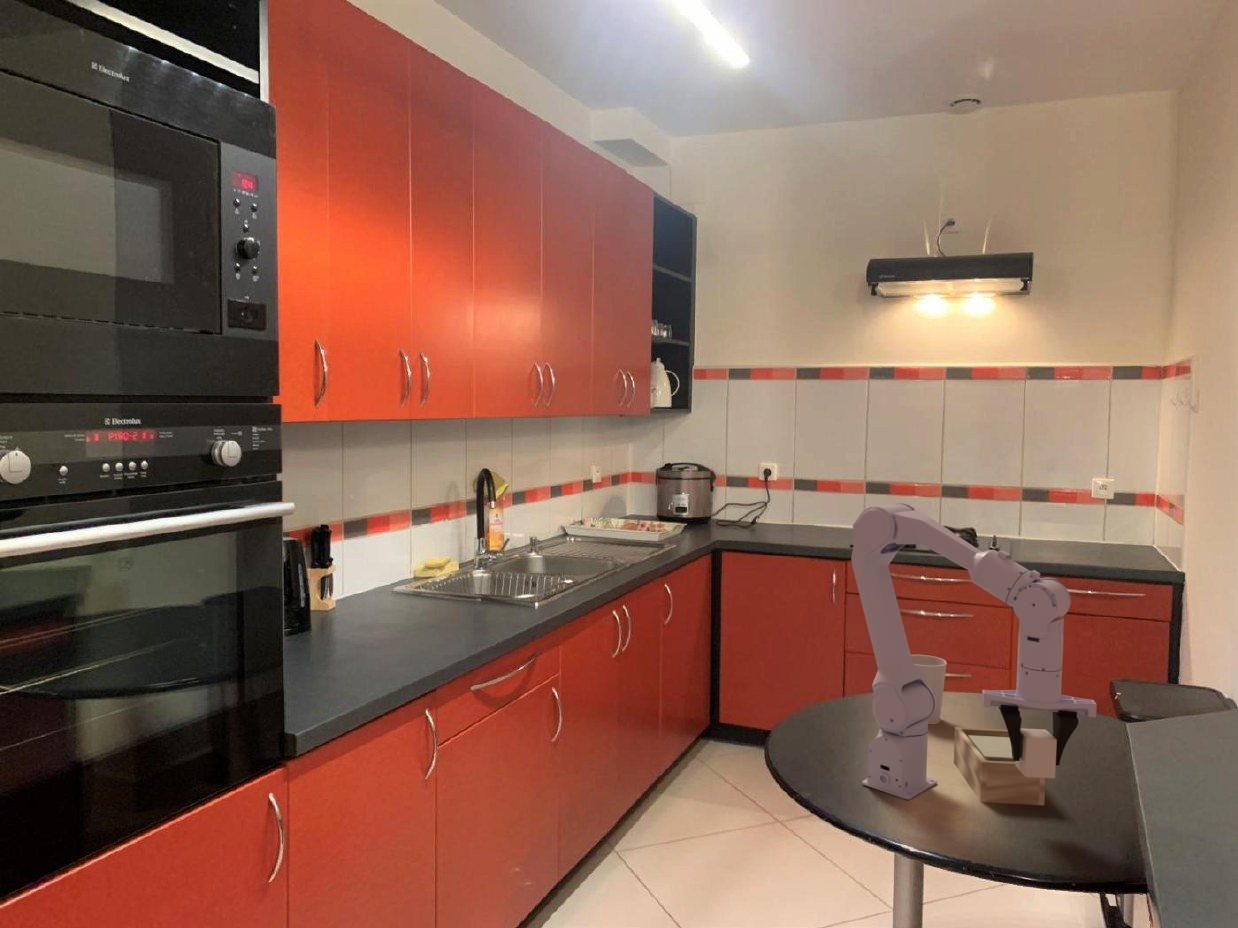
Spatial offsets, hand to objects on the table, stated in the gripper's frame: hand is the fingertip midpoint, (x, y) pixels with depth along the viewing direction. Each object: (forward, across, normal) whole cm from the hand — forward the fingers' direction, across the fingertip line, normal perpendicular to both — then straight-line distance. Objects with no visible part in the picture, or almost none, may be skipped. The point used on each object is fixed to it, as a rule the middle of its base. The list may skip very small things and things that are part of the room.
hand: (1035, 760), depth 126 cm
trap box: (+10, +3, -14) cm, 18 cm away
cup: (+10, +13, -42) cm, 45 cm away
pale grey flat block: (+4, +3, -13) cm, 14 cm away
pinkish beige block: (+2, 0, 0) cm, 2 cm away
